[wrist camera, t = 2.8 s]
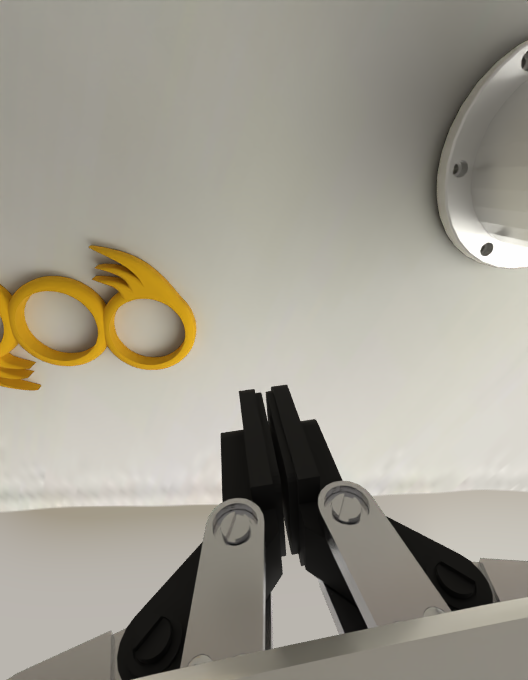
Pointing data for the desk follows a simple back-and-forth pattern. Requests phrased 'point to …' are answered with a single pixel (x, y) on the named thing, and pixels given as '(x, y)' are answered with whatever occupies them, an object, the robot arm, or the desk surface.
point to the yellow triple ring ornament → (132, 285)
